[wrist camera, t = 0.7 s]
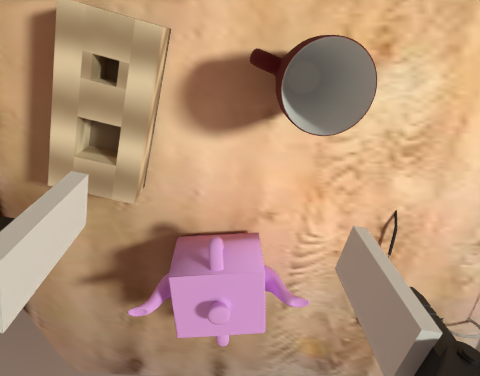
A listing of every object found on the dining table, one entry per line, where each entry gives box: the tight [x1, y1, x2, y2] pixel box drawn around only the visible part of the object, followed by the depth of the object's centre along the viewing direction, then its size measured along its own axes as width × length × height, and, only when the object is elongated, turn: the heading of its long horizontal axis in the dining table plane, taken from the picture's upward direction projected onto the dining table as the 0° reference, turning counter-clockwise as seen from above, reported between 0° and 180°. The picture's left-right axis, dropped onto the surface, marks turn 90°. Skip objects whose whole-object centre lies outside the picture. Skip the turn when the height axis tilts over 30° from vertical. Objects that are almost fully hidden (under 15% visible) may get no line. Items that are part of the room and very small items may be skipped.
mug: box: [250, 35, 377, 136], centre depth 32 cm, size 11×8×10 cm
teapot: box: [128, 232, 309, 346], centre depth 41 cm, size 15×13×11 cm
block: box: [48, 0, 171, 204], centre depth 35 cm, size 18×9×5 cm, turn 165°
